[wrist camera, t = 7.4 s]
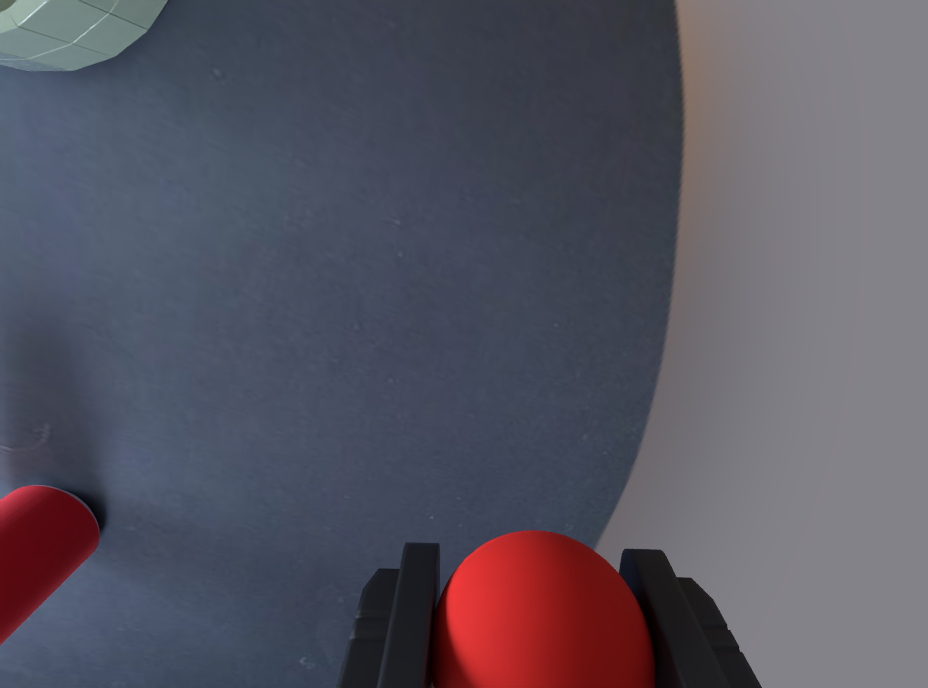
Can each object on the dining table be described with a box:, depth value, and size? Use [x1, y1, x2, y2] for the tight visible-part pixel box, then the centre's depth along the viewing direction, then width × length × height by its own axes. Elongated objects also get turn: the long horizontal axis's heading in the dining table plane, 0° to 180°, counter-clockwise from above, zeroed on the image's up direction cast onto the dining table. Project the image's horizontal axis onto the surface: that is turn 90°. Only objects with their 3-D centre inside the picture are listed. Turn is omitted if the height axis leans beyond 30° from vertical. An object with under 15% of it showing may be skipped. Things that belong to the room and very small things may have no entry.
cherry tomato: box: [431, 530, 655, 688], centre depth 9 cm, size 4×4×4 cm
